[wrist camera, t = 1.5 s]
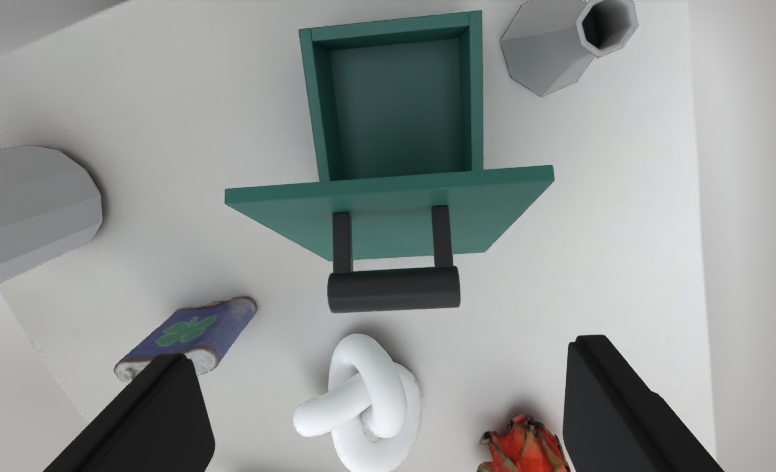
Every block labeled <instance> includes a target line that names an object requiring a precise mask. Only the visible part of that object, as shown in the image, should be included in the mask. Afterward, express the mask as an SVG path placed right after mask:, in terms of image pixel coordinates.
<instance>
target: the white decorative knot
mask: <svg viewBox="0 0 776 472" xmlns="http://www.w3.org/2000/svg"><path fill="white" fill-rule="evenodd" d="M421 417H422V400H421V393H420V389H419V386H418V383H417V381H416V379H415V377H414V376H413V375H412V373H411V372H410V371H409V370H407V369H406V368H405V367H404V366H402V365H400V364H398V363H395V362H393V361H392V359H391V358H390V356H389V355H388V354H387V352H386V351H385V350H384V349H383V348H382V347H381V346H380V345H379V344H378V343H377V342H376V341H375V340H374V339H373V338H371V337H370V336H367V335H364V334H357V333H356V334H351V335H349V336H347V337H345V338H343V339H342V340H341V341H340V342H339V343H338V345H337V347H336V349H335V351H334V353H333V357H332V361H331V365H330V371H329V383H328V392H327V393H326V394H324V395H322V396H319V397H316V398H313V399H310V400H308V401H306V402H304V403H303V404H301V405H299V407H298V408H297V410H296V411H295V413H294V420H293V424H294V426H295V428H296V431H297V432H298V433H300V434H301V435H303V436H306V437H307V436H319V435H322V434H324V433H327V432H329V431H331V433H332V437H333V441H334V445H335V448H336V451H337V454H338V456H339V458H340V460H341V461H342V462H343V464H344V465H345V466H346V467H347V468H348V469H349V470H350V471H351V472H392V471H393V470H395V469H396V468H398V467H399V465H400V464H401V463H402V462H403V461H404V460H405V459H406V457H407V456H408V454H409V453H410V451H411V450H412V448H413V445H414V443H415V441H416V439H417V435H418V432H419V429H420V424H421ZM362 422H363V423H364V424H365V425H366V426H367V427H368V428H369V429H370V431H371V432H372V433H373V434H375V435H377V436H379V437H380V438H379V439H378V440H376V441H370V440H369V438H368V437H367V435H366V433H365V431H364V428H363V425H362Z"/></svg>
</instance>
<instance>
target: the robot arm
mask: <svg viewBox="0 0 776 472" xmlns="http://www.w3.org/2000/svg"><path fill="white" fill-rule="evenodd" d="M563 439H564V444H565V447H566V450H567V452H568V454H569V456H570V459H571V461H572V463H573V465H574V468H575V470H576V472H724V471H723V470H722V468H721V467H720V466H719V465H718V464H717V462H716V461H715V460H714V459H713V458H712V456H711V455H710V454H709V453H708V452H707V451H706V449H705V448H704V447H703V446H702V445H701V443H700V442H699V441H698V440H697V439H696V437H695V436H694V435H693V434H692V433H691V431H690V430H689V429H688V428H687V427H686V426H685V424H684V423H683V422H682V421H681V420H680V418H679V417H678V416H677V415H676V414H675V412H674V411H673V410H672V409H671V408H670V407H669V405H668V404H667V403H666V402H665V401H664V399H663V398H662V397H661V396H659V395H658V394H657V393H655V392H652V391H651V390H650V389H649V388H648V387H647V386H646V384H645V383H644V382H643V381H642V379H641V378H640V377H639V376H638V375H637V373H636V372H635V371H634V370H633V369H632V367H631V366H630V365H629V364H628V362H627V361H626V360H625V359H624V358H623V356H622V355H621V354H620V353H619V352H618V350H617V349H616V348H615V347H614V345H613V344H612V343H611V342H610V341H609V339H608V338H607V337H606V336H605V335H582V336H578V337H577V338H576V341H575V342H570V343H569V346H568V357H567V373H566V388H565V403H564V419H563ZM214 451H215V439H214V436H213V432H212V428H211V425H210V421H209V418H208V414H207V410H206V407H205V403H204V399H203V396H202V392H201V389H200V385H199V381H198V378H197V374H196V371H195V367H194V364H193V361H192V360H191V359H187V356H186V355H185V354H183V353H171V354H159V355H157V356H156V357H155V358H154V359H153V360H152V361H151V362H150V363H149V364H148V365H147V366H146V367H145V368H144V369H143V370H142V371H141V372H140V373H139V374H138V375H137V376H136V377H135V378H134V379H133V380H132V381H131V382H130V383H129V384H128V385H127V386H126V387H125V388H124V389H123V390H122V391H121V392H120V393H119V394H118V395H117V396H116V397H115V398H114V399H113V401H112V402H111V403H110V404H109V405H108V406H107V407H106V408H105V409H104V410H103V411H102V412H101V413H100V414H99V415H98V416H97V417H96V418H95V419H94V420H93V421H92V422H91V423H90V424H89V425H88V426H87V427H86V428H85V429H84V430H83V431H82V432H81V433H80V434H79V435H78V436H77V437H76V438H75V439H74V441H72V442H71V443H70V444H69V445H68V446H67V447H66V448H65V449H64V450H63V451H62V453H61V454H60V455H59V456H58V457H57V458H56V459H55V460H54V461H53V462H52V463H51V464H50V465H49V466H48V467H47V468H46V469H45V470H44V471H43V472H205V470H206V468H207V466H208V464H209V462H210V461H211V459H212V457H213V454H214Z"/></svg>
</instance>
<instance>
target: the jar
mask: <svg viewBox="0 0 776 472" xmlns="http://www.w3.org/2000/svg"><path fill="white" fill-rule="evenodd" d="M102 222H103V221H102V204H101V193H100V191H99V190H98V188H97V186H96V185H95V183H94V181H93V180H92V178H91V176H90V175H89V173H88V172H87V171H86V170H85V169H84V168H83V167H81V166H80V165H78V164H77V163H76V162H74V161H73V160H71V159H70V158H69V157H67V156H66V155H64V154H63V153H62V152H60V151H59V150H55V149H49V148H43V147H37V146H32V145H26V146H19V147H12V148H4V149H0V283H2V282H4V281H6V280H9V279H11V278H13V277H15V276H17V275H19V274H22V273H24V272H26V271H28V270H30V269H32V268H35V267H37V266H39V265H41V264H43V263H45V262H48V261H50V260H52V259H54V258H56V257H58V256H61V255H63V254H65V253H67V252H69V251H72V250H74V249H76V248H78V247H80V246H82V245H85V244H87V243H89V242H91V240H92V239H93V237H94V235H95V234H96V232H97V230H98V229H99V227H100V225H101V224H102Z"/></svg>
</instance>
